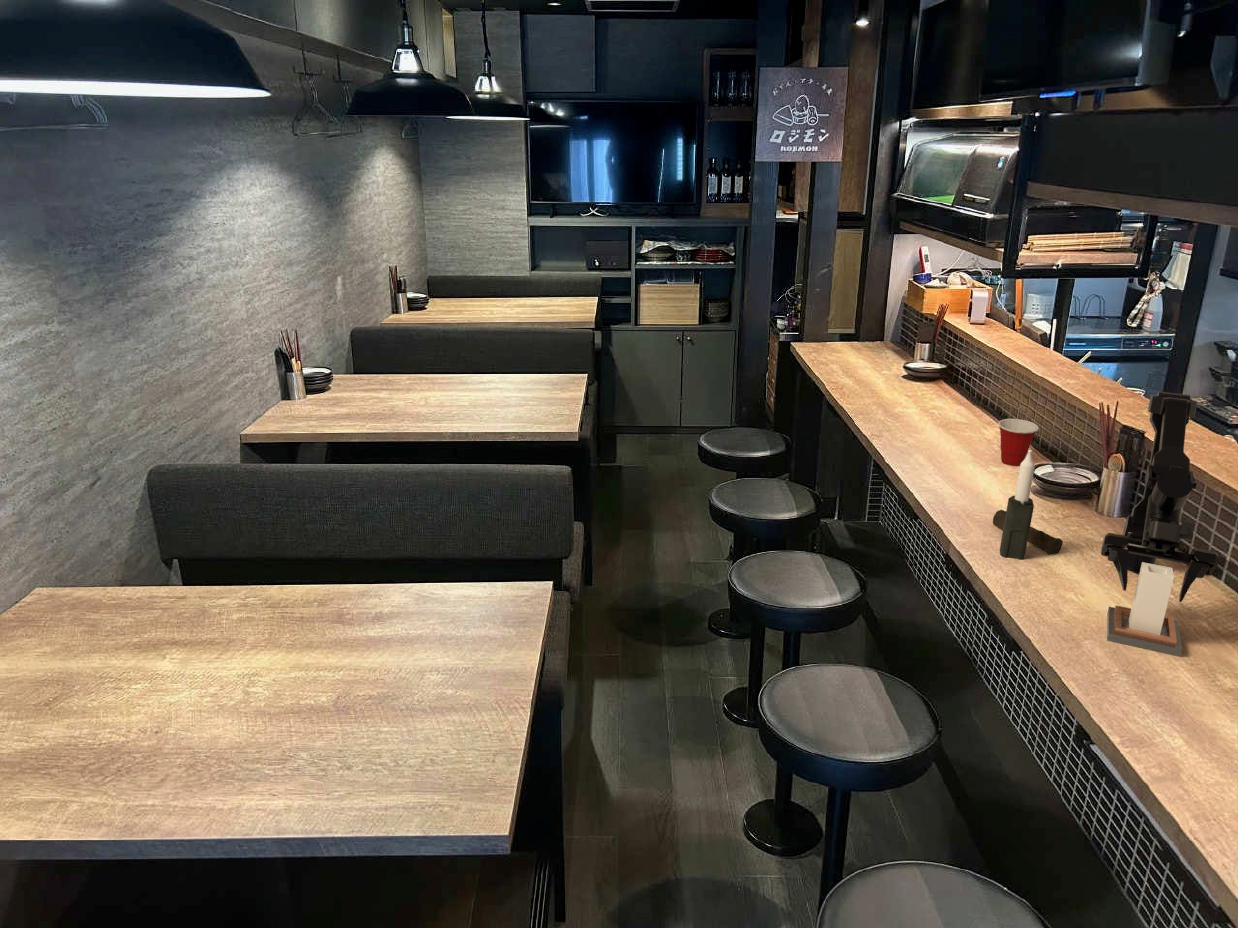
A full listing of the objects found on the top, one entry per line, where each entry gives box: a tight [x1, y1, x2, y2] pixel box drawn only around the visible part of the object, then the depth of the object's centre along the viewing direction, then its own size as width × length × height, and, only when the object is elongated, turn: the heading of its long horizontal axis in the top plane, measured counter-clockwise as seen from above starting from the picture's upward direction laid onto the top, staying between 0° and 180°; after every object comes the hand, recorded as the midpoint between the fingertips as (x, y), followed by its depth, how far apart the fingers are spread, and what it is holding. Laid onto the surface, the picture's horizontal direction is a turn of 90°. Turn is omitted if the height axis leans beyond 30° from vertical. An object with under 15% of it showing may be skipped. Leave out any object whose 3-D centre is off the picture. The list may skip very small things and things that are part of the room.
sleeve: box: [1129, 562, 1175, 635], centre depth 173 cm, size 5×5×12 cm
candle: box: [999, 449, 1036, 561], centre depth 205 cm, size 5×5×25 cm
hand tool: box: [992, 509, 1064, 556], centre depth 217 cm, size 19×4×5 cm, turn 22°
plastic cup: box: [997, 418, 1040, 467], centre depth 267 cm, size 11×11×12 cm
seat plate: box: [1106, 605, 1183, 658], centre depth 175 cm, size 12×12×4 cm
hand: (1152, 595), depth 172 cm, fingers open, 9 cm apart
